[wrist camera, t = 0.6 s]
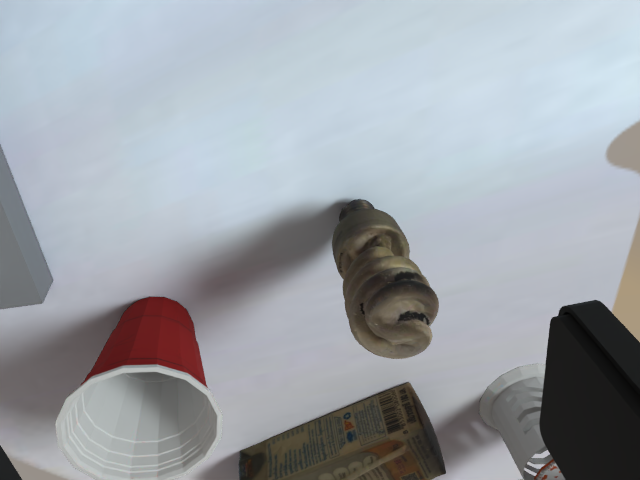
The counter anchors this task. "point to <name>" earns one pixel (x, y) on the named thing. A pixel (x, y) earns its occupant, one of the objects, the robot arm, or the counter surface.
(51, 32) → the counter surface
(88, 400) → the plastic cup
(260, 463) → the beverage carton
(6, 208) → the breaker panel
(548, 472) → the french press
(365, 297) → the light bulb
